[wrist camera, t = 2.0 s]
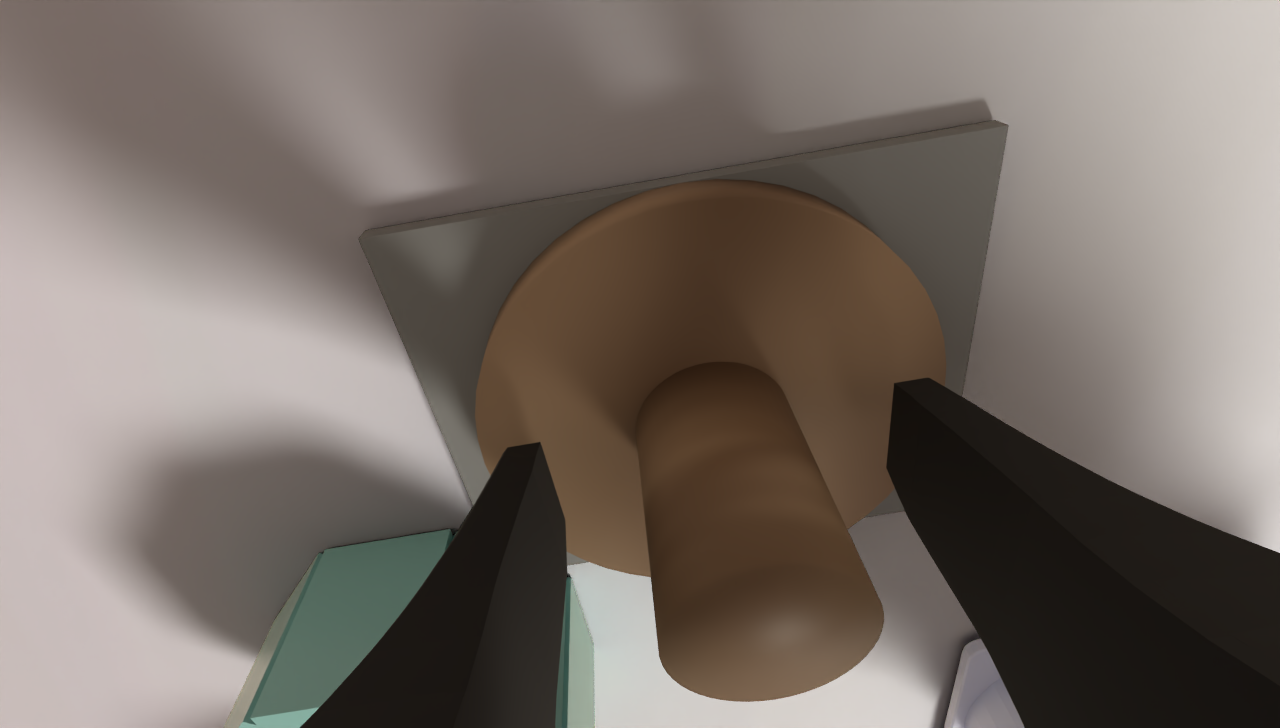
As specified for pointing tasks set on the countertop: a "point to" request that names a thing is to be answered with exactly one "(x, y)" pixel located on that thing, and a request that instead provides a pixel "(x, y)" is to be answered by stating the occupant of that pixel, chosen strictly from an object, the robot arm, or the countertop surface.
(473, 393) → the mat
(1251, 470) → the countertop surface
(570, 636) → the bowl
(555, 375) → the lid
